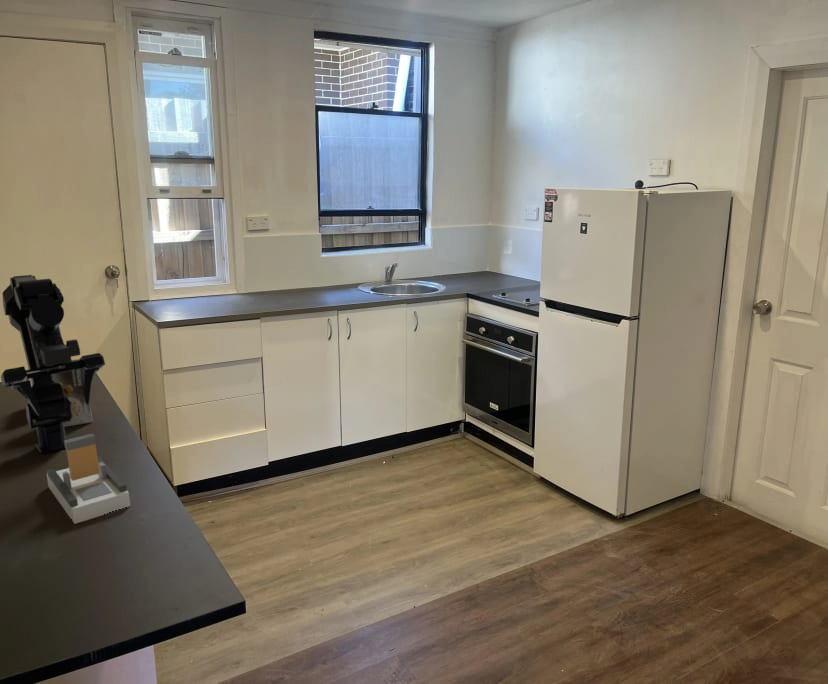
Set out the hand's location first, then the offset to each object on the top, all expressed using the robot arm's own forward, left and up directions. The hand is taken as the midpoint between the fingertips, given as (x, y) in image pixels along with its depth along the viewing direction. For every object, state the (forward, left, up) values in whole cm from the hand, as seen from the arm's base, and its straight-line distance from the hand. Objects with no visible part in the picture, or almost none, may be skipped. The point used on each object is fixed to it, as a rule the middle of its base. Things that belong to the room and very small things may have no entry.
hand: (63, 409), depth 137 cm
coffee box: (-36, +9, -15) cm, 40 cm away
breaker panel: (+12, 0, -15) cm, 19 cm away
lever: (+12, 0, -11) cm, 16 cm away
